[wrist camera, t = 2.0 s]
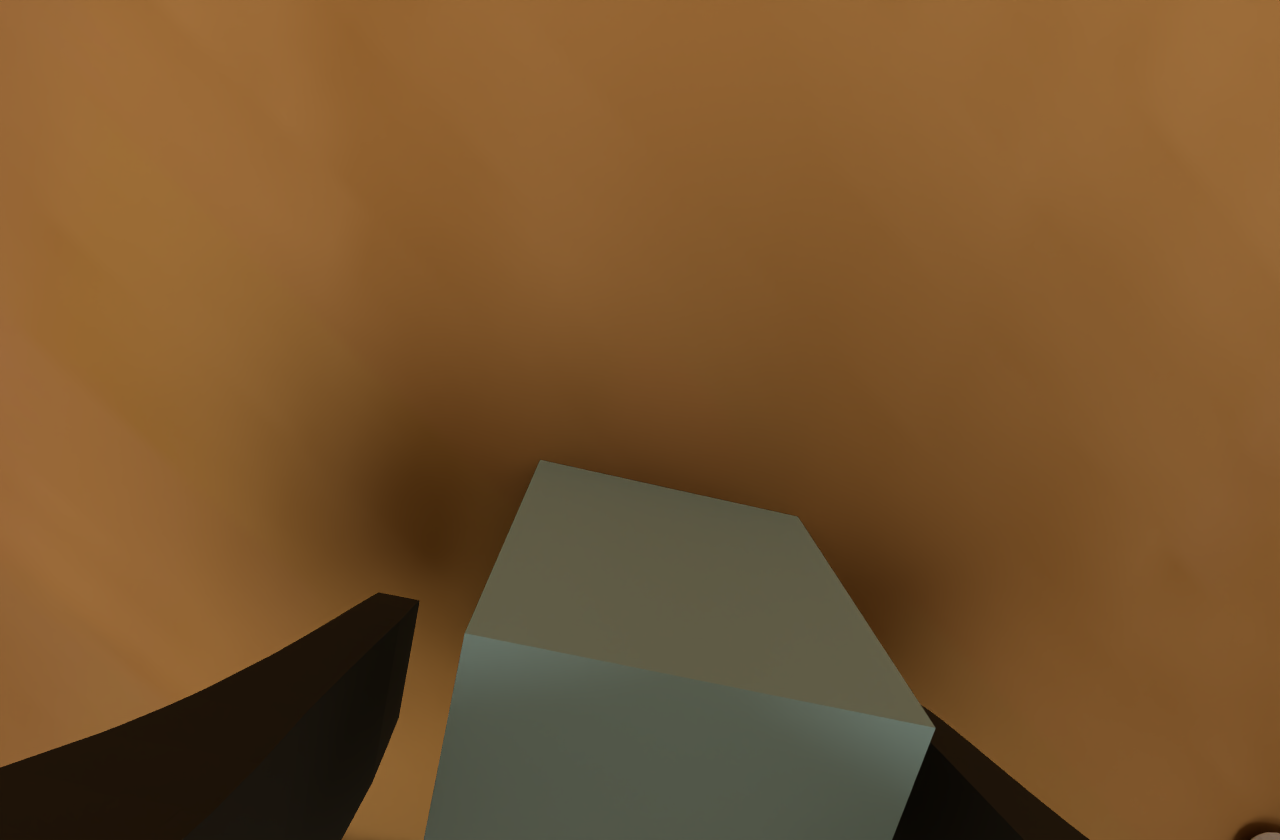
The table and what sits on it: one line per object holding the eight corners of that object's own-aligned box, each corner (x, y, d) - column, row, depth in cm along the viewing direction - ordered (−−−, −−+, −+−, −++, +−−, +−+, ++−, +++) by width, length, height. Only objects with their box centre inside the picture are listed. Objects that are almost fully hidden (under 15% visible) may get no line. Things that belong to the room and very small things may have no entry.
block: (797, 516, 13) (935, 727, 7) (728, 735, 14) (800, 1074, 8) (540, 458, 13) (464, 633, 7) (491, 689, 14) (390, 1009, 8)
